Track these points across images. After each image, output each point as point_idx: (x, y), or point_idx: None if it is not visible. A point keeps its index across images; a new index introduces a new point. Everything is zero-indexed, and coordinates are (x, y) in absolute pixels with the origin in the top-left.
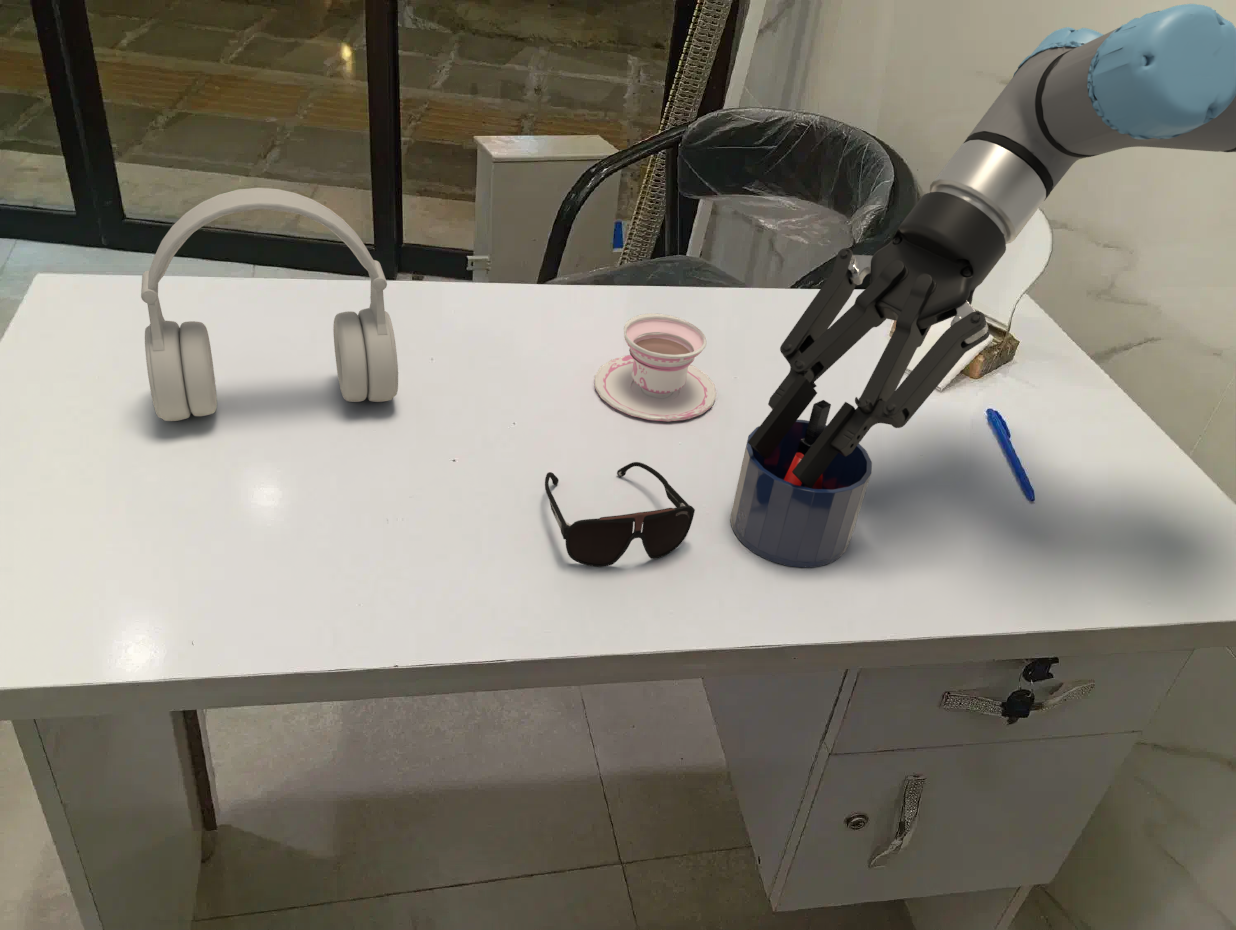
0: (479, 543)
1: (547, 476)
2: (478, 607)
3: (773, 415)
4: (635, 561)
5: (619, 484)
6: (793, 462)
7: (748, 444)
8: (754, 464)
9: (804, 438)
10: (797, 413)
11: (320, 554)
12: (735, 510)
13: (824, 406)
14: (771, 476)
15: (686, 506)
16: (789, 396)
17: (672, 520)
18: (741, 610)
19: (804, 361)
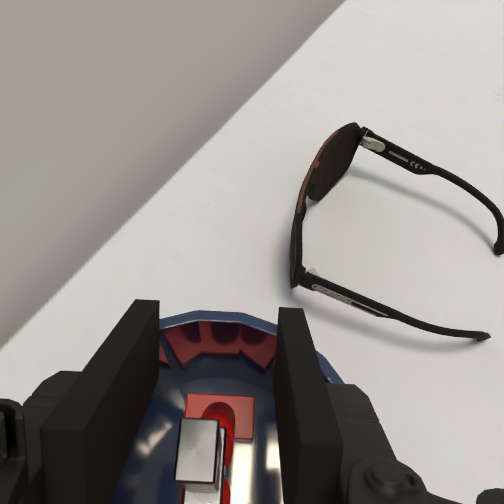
0: (423, 132)
1: (488, 199)
2: (337, 88)
3: (300, 348)
4: (304, 231)
5: (462, 326)
6: (222, 425)
7: (326, 366)
8: (263, 320)
9: (222, 443)
10: (282, 458)
11: (470, 43)
12: None
13: (182, 442)
14: (209, 312)
15: (299, 244)
16: (303, 386)
17: (294, 224)
18: (149, 267)
19: (383, 499)
